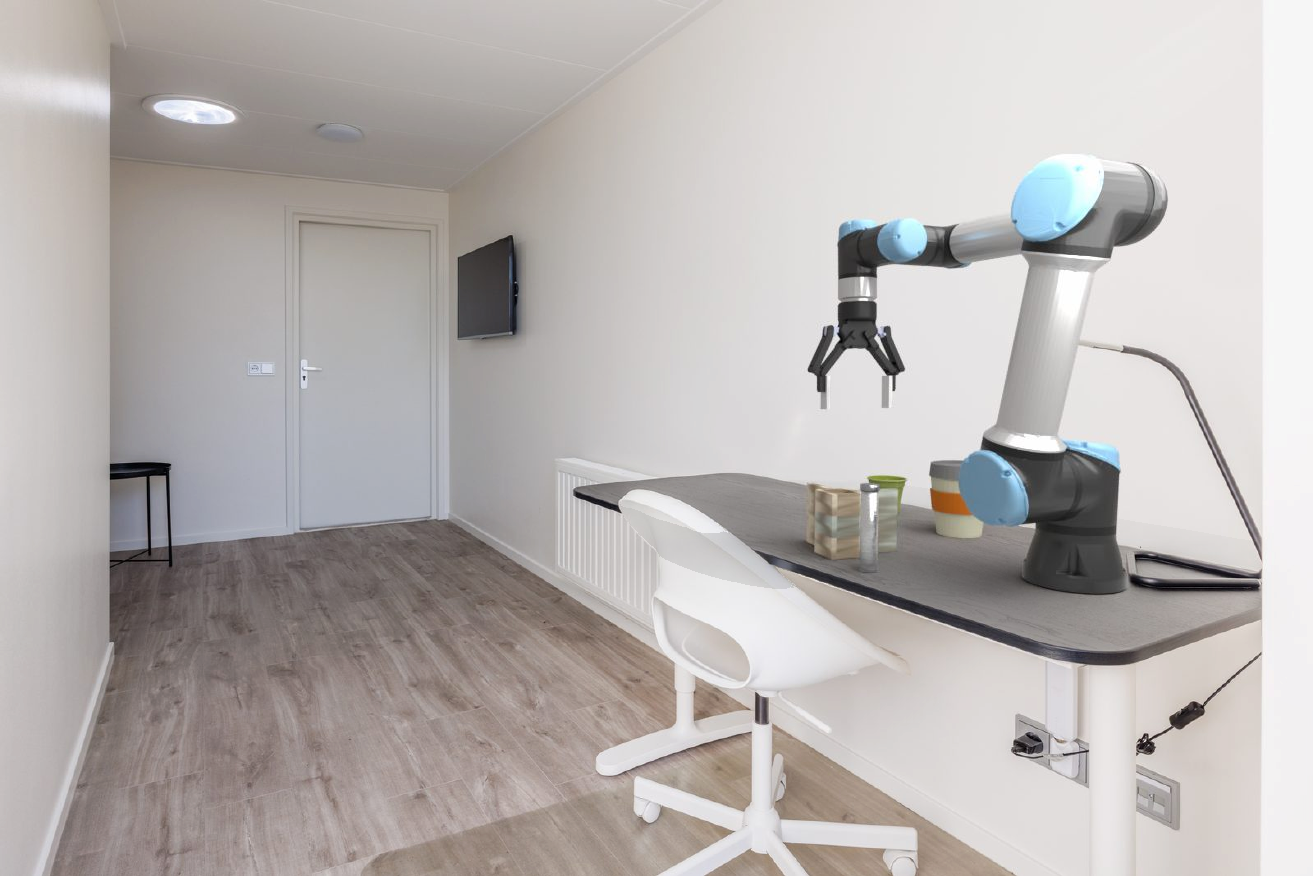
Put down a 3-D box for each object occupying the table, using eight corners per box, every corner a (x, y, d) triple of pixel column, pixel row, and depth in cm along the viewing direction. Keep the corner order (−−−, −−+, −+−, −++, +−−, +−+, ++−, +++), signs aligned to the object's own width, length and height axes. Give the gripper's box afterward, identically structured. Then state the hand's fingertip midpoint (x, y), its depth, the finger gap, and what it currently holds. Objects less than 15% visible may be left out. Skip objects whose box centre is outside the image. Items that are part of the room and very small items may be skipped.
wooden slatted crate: (904, 554, 147) (906, 491, 146) (831, 559, 143) (832, 494, 142) (861, 537, 162) (862, 480, 161) (794, 542, 158) (794, 483, 157)
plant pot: (906, 510, 194) (907, 475, 193) (906, 517, 185) (907, 481, 184) (867, 508, 197) (867, 474, 196) (865, 515, 188) (866, 479, 187)
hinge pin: (881, 572, 134) (883, 485, 133) (864, 573, 134) (866, 486, 132) (871, 567, 138) (873, 482, 136) (855, 568, 137) (856, 483, 135)
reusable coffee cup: (985, 542, 158) (988, 468, 156) (921, 535, 164) (923, 464, 163) (995, 531, 168) (997, 462, 167) (934, 525, 175) (936, 458, 174)
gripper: (902, 304, 162) (901, 407, 164) (791, 302, 156) (790, 409, 157) (923, 300, 155) (922, 408, 156) (807, 298, 149) (807, 410, 150)
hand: (856, 408), depth 157 cm, fingers open, 13 cm apart
